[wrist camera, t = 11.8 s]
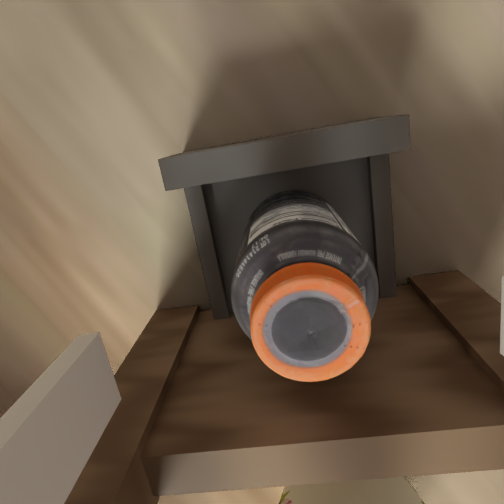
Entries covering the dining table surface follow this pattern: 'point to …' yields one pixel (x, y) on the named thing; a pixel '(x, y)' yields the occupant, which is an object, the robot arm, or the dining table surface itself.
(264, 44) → the dining table surface
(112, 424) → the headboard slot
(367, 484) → the pitcher
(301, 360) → the pill bottle
